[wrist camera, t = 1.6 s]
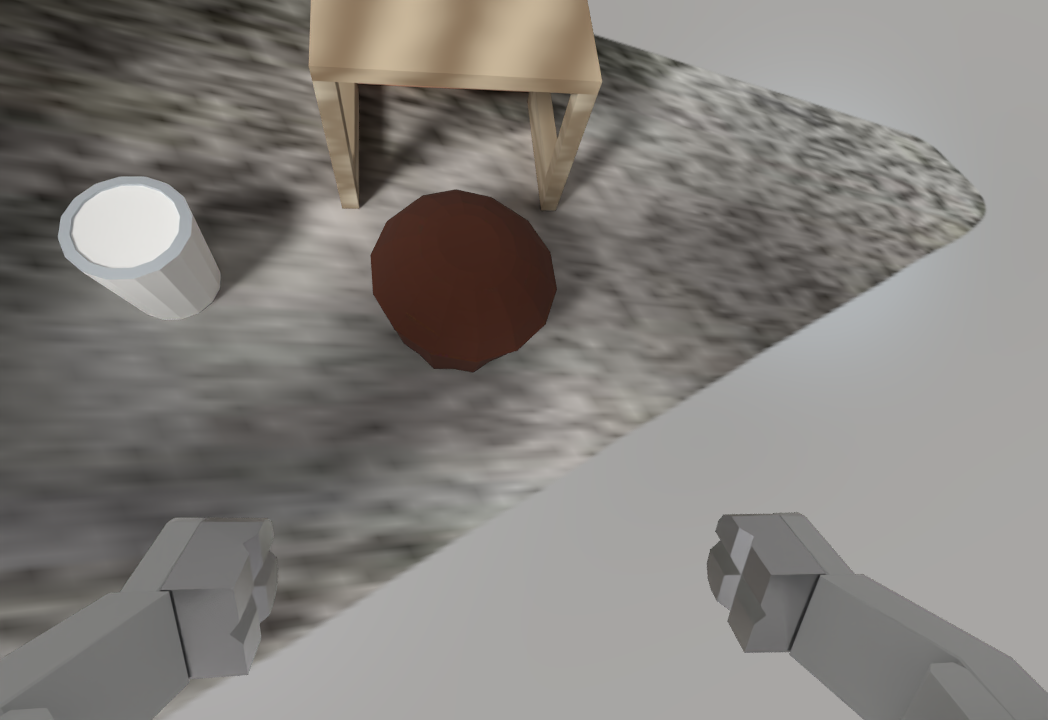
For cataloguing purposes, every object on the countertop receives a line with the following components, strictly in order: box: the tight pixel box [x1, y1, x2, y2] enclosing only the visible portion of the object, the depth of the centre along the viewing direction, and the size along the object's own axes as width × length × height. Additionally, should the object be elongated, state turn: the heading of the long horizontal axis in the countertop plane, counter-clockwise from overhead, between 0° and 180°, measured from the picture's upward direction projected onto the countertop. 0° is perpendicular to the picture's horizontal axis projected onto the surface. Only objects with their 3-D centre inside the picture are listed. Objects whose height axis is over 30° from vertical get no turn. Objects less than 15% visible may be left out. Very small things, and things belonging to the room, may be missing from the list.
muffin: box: [371, 190, 557, 372], centre depth 36 cm, size 12×11×10 cm
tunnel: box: [309, 0, 602, 211], centre depth 40 cm, size 16×11×13 cm
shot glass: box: [58, 177, 221, 320], centre depth 35 cm, size 7×7×7 cm
